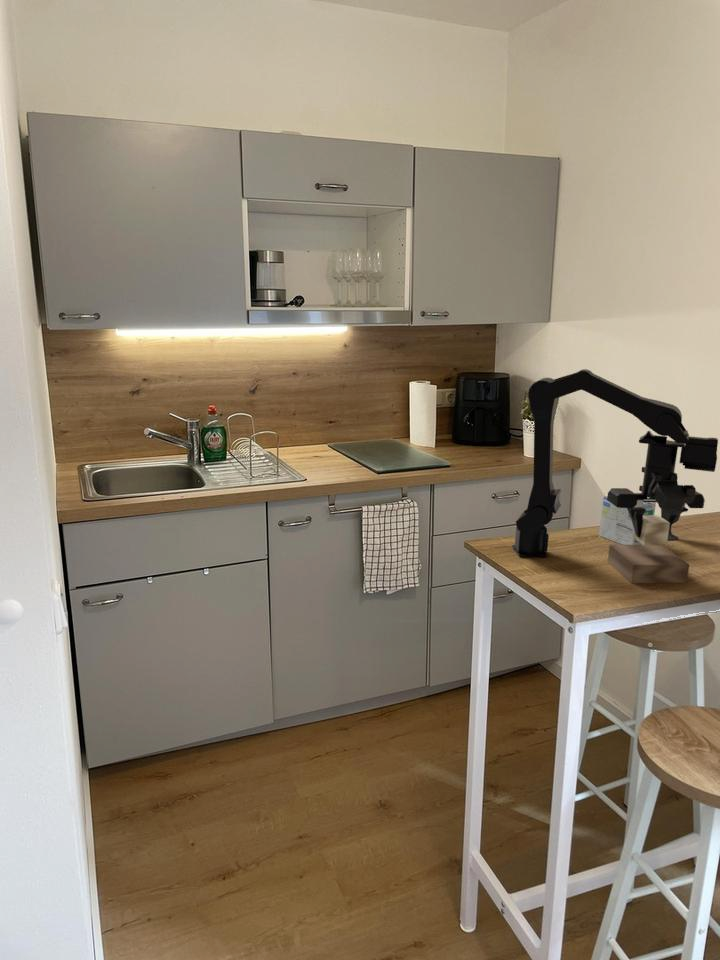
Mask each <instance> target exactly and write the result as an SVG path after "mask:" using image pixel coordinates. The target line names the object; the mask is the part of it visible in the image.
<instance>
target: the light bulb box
mask: <svg viewBox="0 0 720 960" xmlns="http://www.w3.org/2000/svg"><path fill="white" fill-rule="evenodd" d="M607 496H608V493H604V494H603V496H602V502H601V510H600V511H601V512H600V519H599V527H598V536H599V537H602V538H605V539H606V540H610V541H612V542H615V543H617V544H619V545H643V544H641V543H640V542H639V541H637V540H636V539H635V538H633V535H634V527H633V523H632V520H631V517H630V514H629V512H628V510H627V508H618V507H616V506H615V505H613V504H612V503H610V502H609V501H608V500H607ZM656 505H657V502H643V508H644V509H646V511H645V513H644V514H643V515H655V513H656V512H655V511H656Z"/></svg>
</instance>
